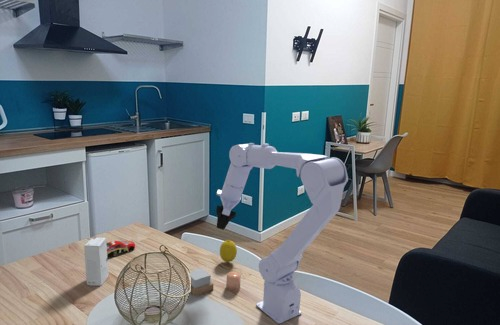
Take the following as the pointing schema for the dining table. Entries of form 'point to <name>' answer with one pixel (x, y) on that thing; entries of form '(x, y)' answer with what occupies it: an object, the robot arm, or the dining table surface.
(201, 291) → the walnut slab
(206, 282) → the grey slab
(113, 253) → the race car
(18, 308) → the dining table surface
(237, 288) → the copper rounded cylinder
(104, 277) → the skincare box
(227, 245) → the lemon
